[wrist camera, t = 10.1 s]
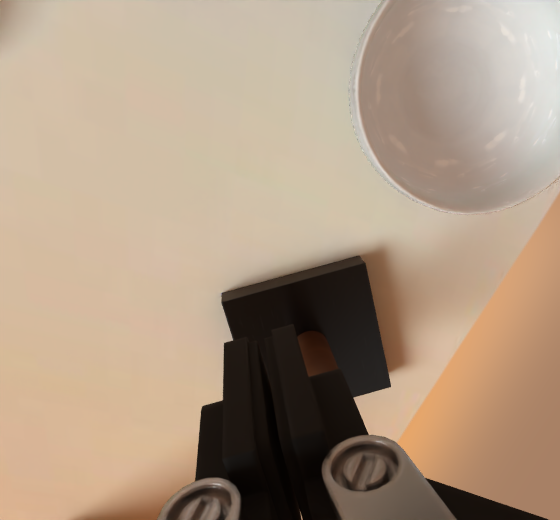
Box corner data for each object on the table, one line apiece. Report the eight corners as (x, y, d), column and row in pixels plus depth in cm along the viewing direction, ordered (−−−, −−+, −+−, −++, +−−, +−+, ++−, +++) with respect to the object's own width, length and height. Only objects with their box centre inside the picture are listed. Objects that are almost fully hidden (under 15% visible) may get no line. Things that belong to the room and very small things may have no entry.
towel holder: (215, 295, 42) (337, 247, 45) (252, 413, 45) (363, 359, 49) (306, 388, 26) (482, 302, 30) (352, 555, 30) (503, 461, 33)
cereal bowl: (583, 17, 38) (660, -1, 31) (491, 221, 42) (541, 244, 36) (380, -71, 35) (417, -111, 28) (303, 160, 39) (319, 173, 32)
